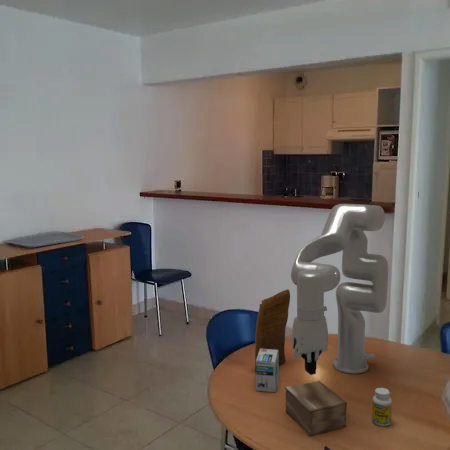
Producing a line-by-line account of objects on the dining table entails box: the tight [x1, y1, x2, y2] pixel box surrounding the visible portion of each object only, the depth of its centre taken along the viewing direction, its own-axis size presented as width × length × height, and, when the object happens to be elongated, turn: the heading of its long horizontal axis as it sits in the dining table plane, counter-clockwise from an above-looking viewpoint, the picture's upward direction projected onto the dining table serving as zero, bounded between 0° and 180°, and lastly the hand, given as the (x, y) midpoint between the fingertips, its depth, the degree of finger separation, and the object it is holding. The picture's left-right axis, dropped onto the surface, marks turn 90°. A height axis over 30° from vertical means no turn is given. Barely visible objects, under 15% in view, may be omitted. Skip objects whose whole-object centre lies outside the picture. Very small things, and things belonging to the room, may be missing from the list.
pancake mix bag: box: [254, 289, 291, 373], centre depth 179 cm, size 7×19×28 cm, turn 132°
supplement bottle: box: [371, 387, 393, 427], centre depth 143 cm, size 5×5×10 cm
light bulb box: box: [255, 349, 280, 393], centre depth 166 cm, size 11×7×11 cm, turn 168°
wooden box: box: [285, 390, 348, 437], centre depth 145 cm, size 12×14×7 cm
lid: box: [284, 380, 348, 412], centre depth 144 cm, size 12×14×1 cm
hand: (310, 372), depth 143 cm, fingers closed
